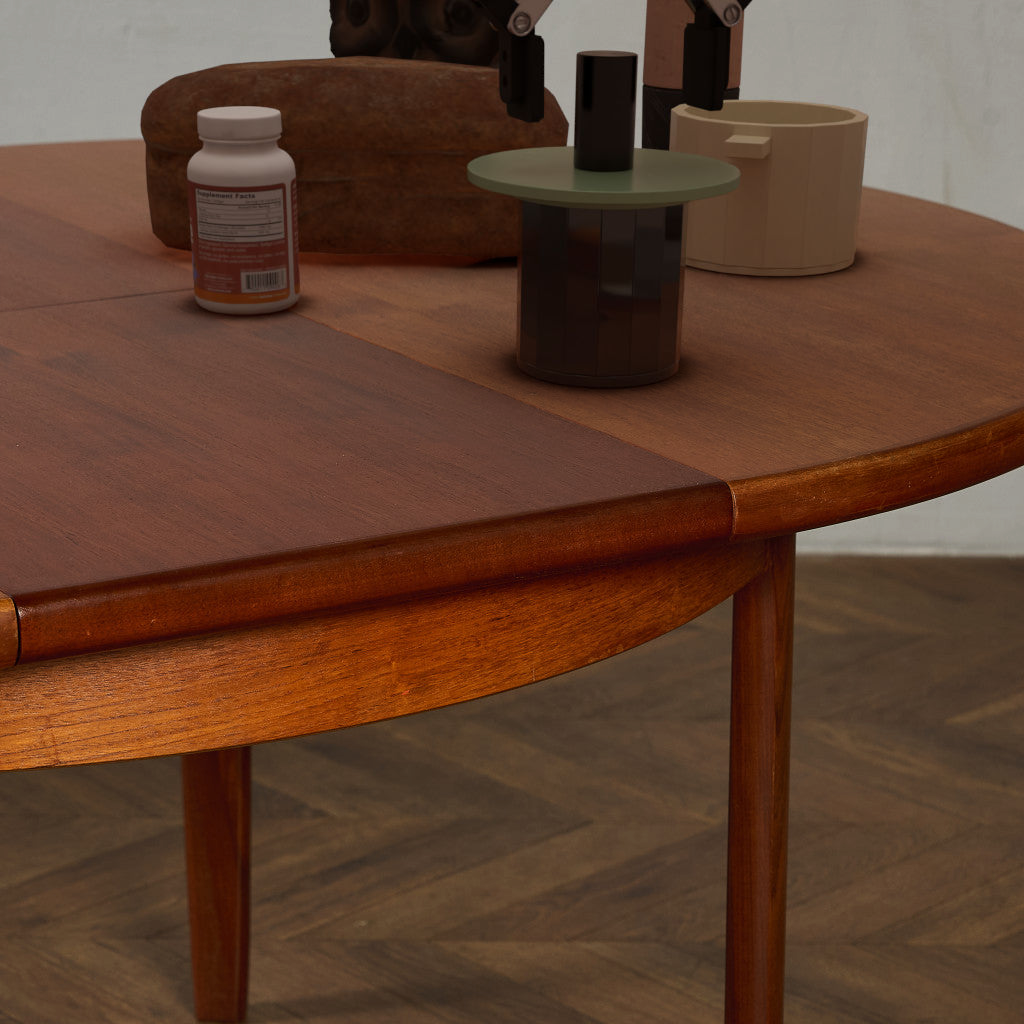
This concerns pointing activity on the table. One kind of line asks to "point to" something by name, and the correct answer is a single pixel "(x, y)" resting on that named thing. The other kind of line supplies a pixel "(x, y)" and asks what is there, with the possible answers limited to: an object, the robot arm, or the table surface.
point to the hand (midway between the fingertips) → (615, 113)
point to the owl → (413, 31)
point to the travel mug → (673, 68)
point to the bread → (359, 151)
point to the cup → (600, 294)
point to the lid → (604, 153)
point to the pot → (776, 186)
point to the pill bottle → (243, 213)
